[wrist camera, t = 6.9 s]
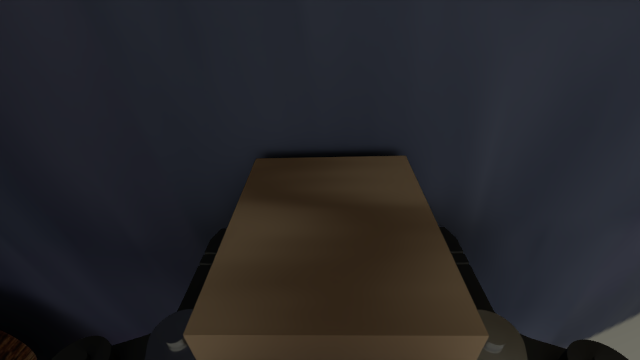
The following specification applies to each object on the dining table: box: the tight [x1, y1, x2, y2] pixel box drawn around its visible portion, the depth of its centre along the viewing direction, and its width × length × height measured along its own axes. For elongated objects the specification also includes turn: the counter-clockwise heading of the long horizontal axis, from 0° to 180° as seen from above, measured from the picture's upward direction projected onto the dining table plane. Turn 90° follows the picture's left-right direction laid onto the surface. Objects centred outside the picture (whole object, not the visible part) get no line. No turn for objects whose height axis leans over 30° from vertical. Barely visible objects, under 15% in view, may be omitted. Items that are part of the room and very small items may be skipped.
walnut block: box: [183, 156, 489, 360], centre depth 9 cm, size 5×5×6 cm
